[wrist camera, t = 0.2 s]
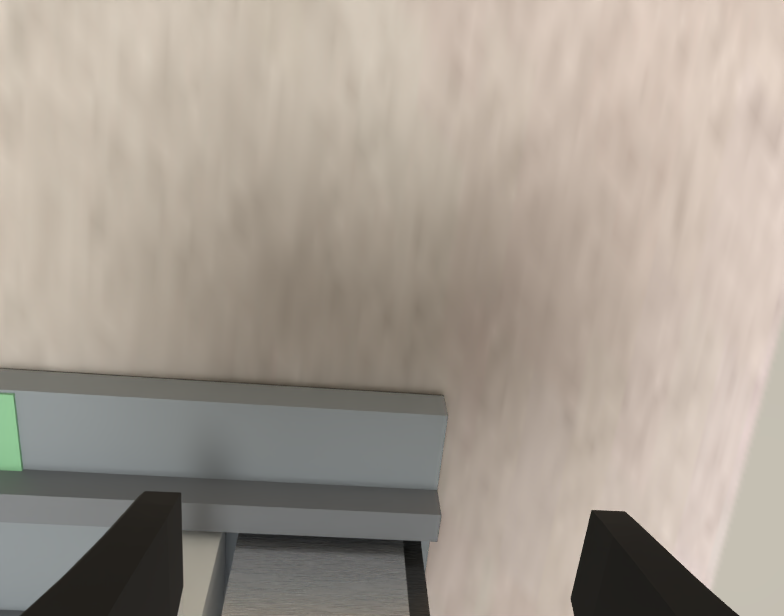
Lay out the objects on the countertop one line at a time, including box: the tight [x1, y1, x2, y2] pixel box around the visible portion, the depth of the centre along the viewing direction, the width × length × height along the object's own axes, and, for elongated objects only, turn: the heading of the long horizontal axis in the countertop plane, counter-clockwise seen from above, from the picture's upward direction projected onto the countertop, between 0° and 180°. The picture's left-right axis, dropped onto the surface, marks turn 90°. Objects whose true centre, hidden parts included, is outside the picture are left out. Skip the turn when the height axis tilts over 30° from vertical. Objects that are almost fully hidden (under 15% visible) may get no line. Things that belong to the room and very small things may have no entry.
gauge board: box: [0, 369, 448, 616], centre depth 23 cm, size 12×18×5 cm, turn 84°
